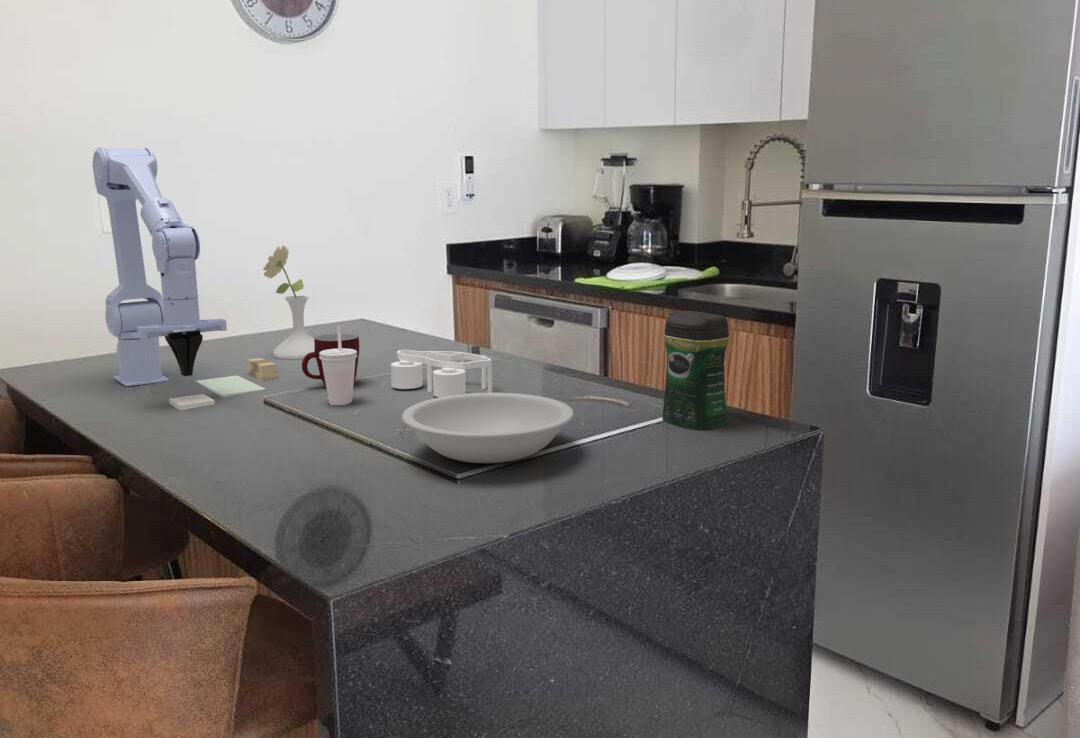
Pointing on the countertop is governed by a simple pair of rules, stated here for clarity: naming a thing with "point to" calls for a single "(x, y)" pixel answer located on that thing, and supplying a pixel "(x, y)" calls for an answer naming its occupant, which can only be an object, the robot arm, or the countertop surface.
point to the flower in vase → (299, 339)
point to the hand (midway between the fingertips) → (186, 375)
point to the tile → (191, 401)
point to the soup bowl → (488, 425)
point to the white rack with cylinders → (438, 371)
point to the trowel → (261, 369)
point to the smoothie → (339, 372)
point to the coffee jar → (695, 370)
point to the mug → (330, 343)
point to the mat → (230, 386)
